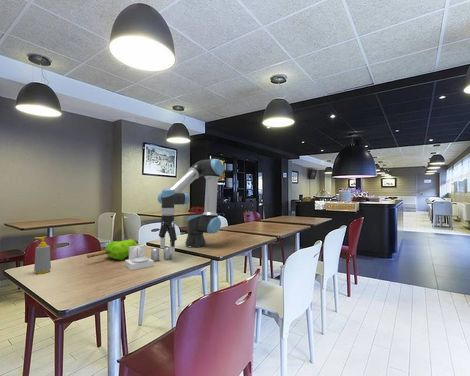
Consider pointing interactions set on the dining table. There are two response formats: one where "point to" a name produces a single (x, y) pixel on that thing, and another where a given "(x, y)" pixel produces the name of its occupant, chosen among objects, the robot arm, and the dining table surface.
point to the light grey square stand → (138, 258)
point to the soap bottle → (42, 257)
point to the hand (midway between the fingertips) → (167, 250)
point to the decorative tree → (117, 249)
